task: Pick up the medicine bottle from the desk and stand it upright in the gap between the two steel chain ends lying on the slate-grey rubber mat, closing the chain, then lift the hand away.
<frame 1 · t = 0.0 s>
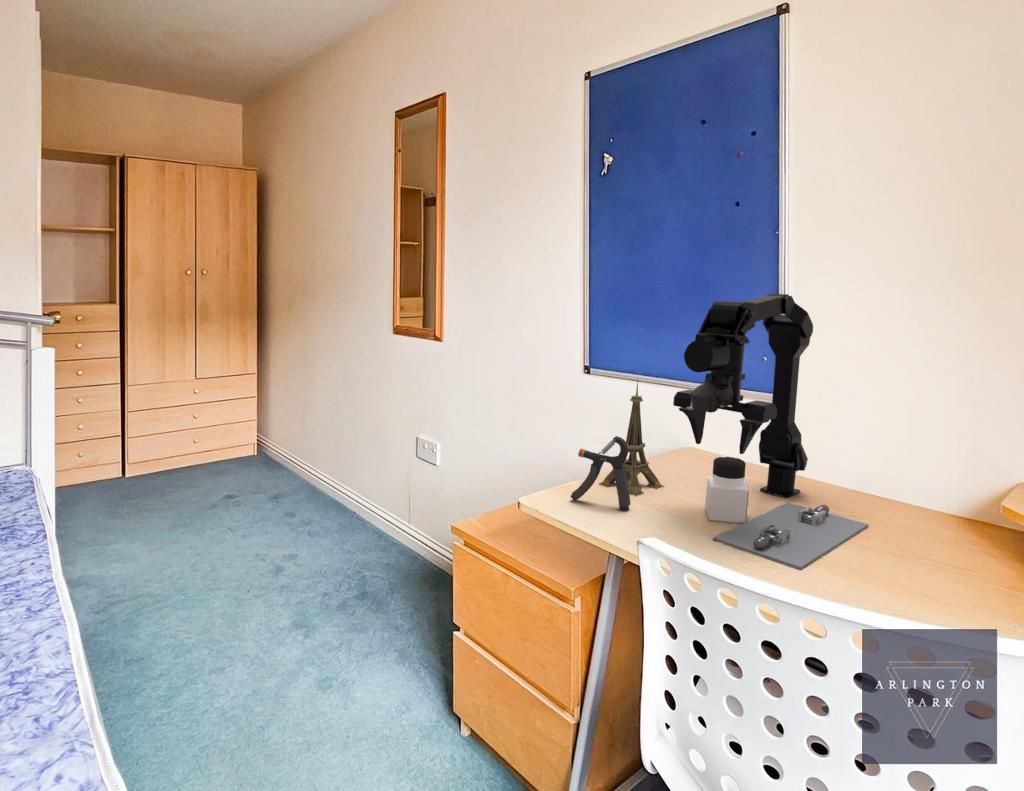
hand: (719, 448, 125), 15 cm above the table, tool pointing down, fingers open, 9 cm apart
eiffel tower: (631, 486, 148), on the table
chain ends: (794, 525, 122), on the rubber mat
hand grip strengthener: (599, 506, 135), on the table
medicine bottle: (724, 517, 130), on the table
rubber mat: (793, 533, 122), on the table
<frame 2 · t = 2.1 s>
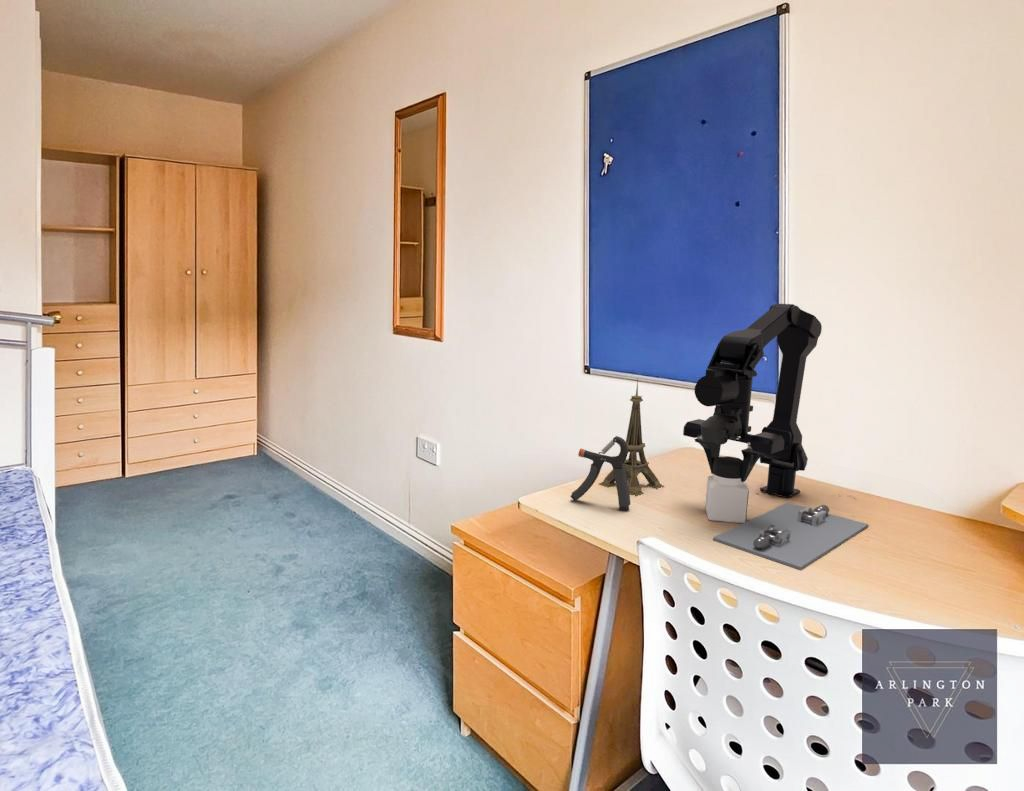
hand: (728, 477, 129), 8 cm above the table, tool pointing down, fingers closed on medicine bottle, 6 cm apart
medicine bottle: (724, 517, 130), on the table, touching gripper
everything else where it was.
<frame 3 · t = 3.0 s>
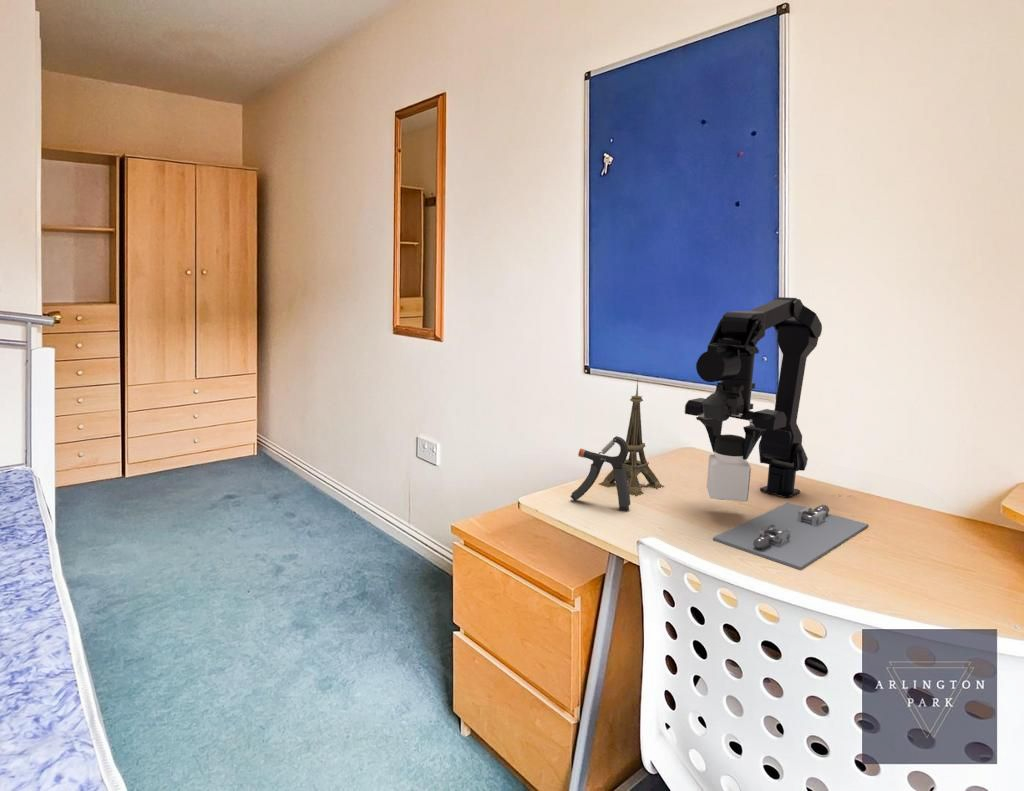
hand: (729, 455, 128), 13 cm above the table, tool pointing down, fingers closed on medicine bottle, 6 cm apart
medicine bottle: (726, 495, 129), point 4 cm above the table, touching gripper
everything else where it was.
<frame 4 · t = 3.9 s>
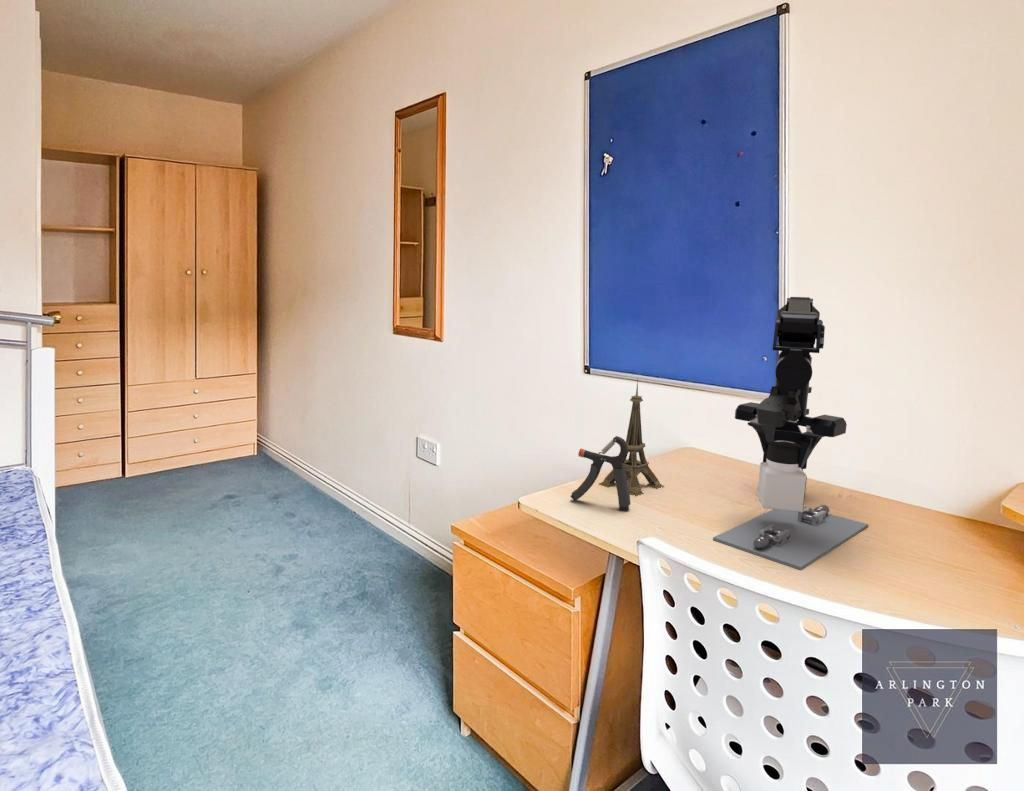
hand: (783, 463, 122), 13 cm above the table, tool pointing down, fingers closed on medicine bottle, 6 cm apart
medicine bottle: (779, 505, 123), point 5 cm above the table, touching gripper
everything else where it was.
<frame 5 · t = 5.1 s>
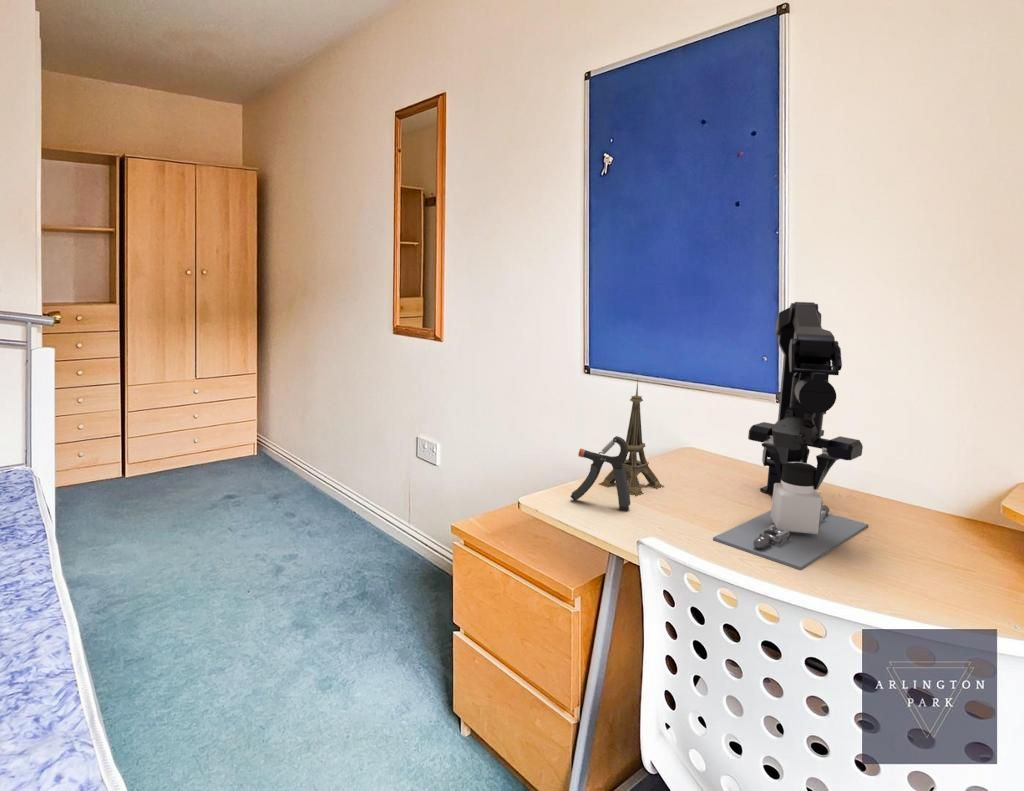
hand: (798, 484, 121), 9 cm above the table, tool pointing down, fingers closed on medicine bottle, 6 cm apart
medicine bottle: (793, 526, 122), point 1 cm above the table, touching gripper
everything else where it was.
when the fingers open (9 cm above the table, at t = 5.9 s): medicine bottle stays where it is, resting on rubber mat.
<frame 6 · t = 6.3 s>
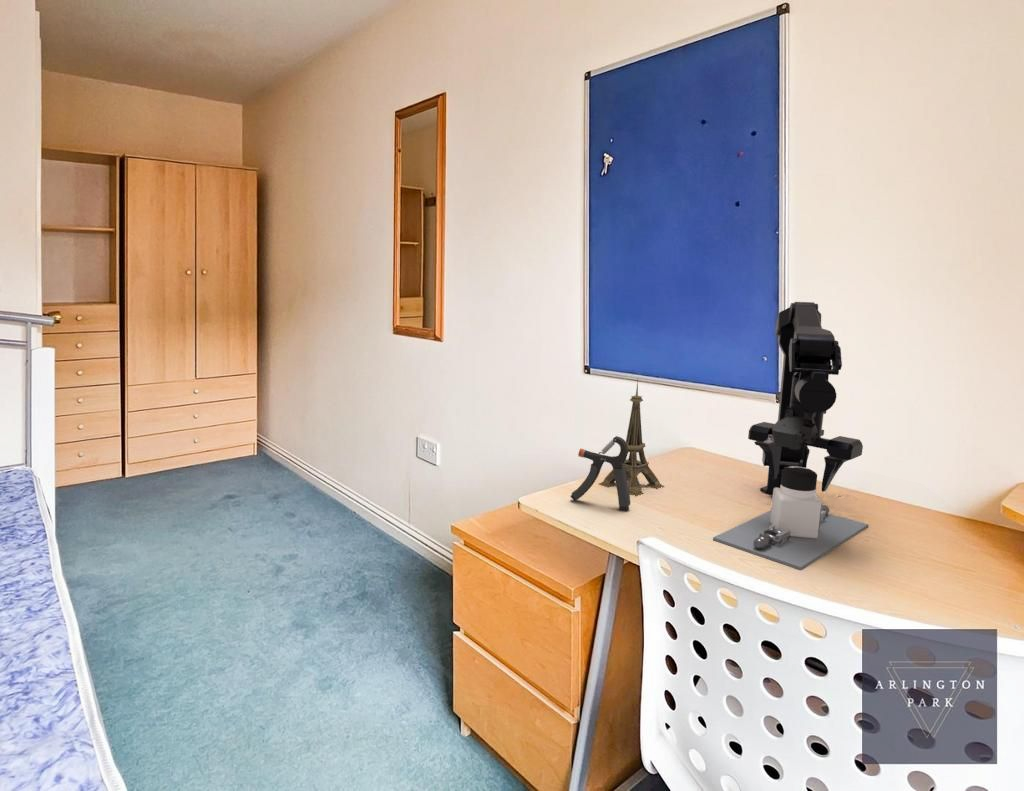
hand: (798, 484, 121), 9 cm above the table, tool pointing down, fingers open, 9 cm apart
medicine bottle: (793, 531, 122), resting on rubber mat
everything else where it was.
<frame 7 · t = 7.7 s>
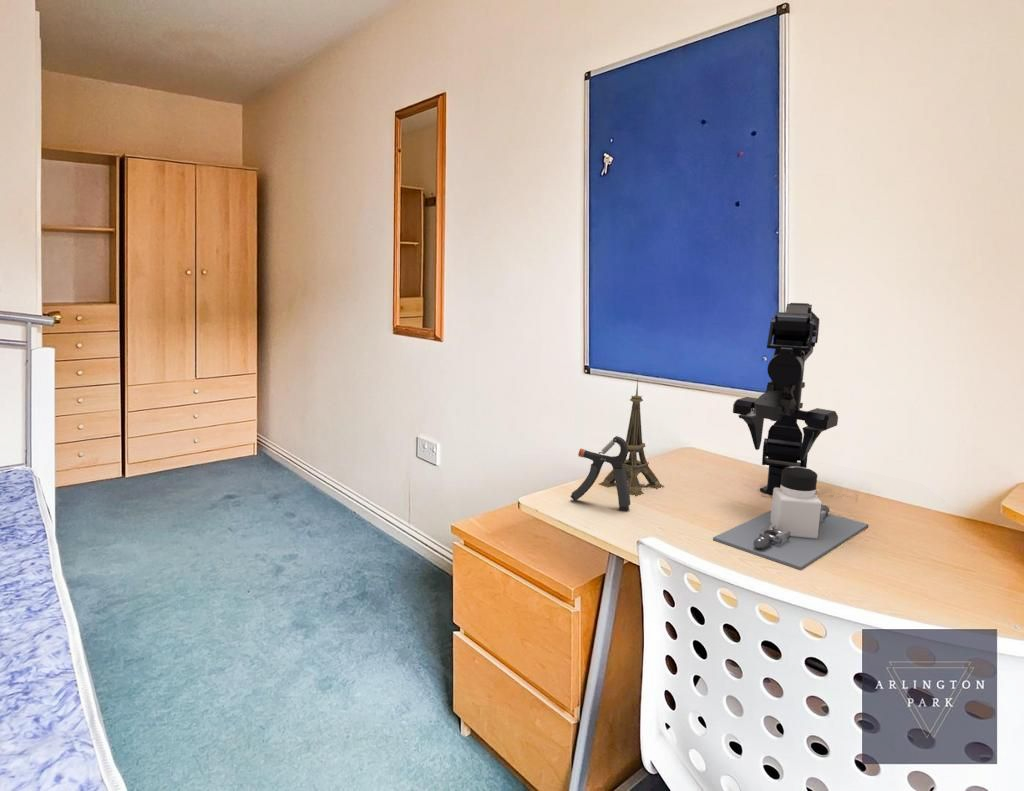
hand: (779, 454, 129), 13 cm above the table, tool pointing down, fingers open, 9 cm apart
nothing on the table moved.
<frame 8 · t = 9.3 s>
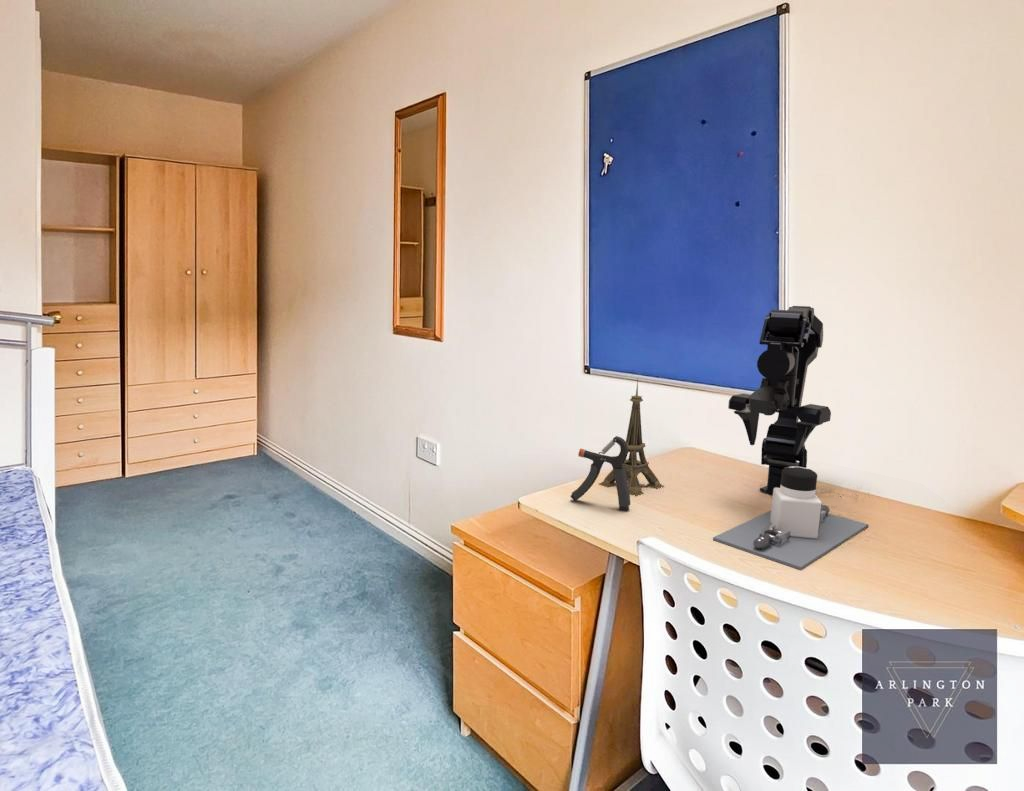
hand: (773, 449, 132), 13 cm above the table, tool pointing down, fingers open, 9 cm apart
nothing on the table moved.
at the end: medicine bottle 0.0 cm off-centre on the chain ends, point 0.3 cm above the chain ends's base; medicine bottle tilted 0°; the gripper is holding nothing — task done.
